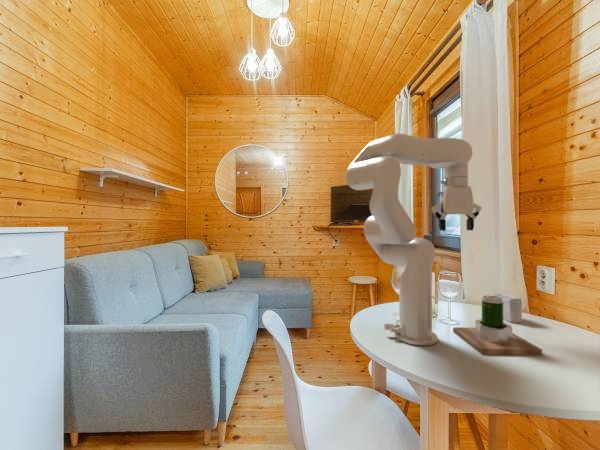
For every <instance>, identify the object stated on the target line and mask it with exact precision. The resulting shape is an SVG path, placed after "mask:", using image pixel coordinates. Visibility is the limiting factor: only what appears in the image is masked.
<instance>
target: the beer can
mask: <svg viewBox="0 0 600 450" xmlns="http://www.w3.org/2000/svg"><path fill="white" fill-rule="evenodd" d="M481 319H482V324H483V325H485V326H488V327H493V328H503V322H504V319H503V301H502V298H500V297H496V296H495V295H483V296H482V298H481Z"/></svg>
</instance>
